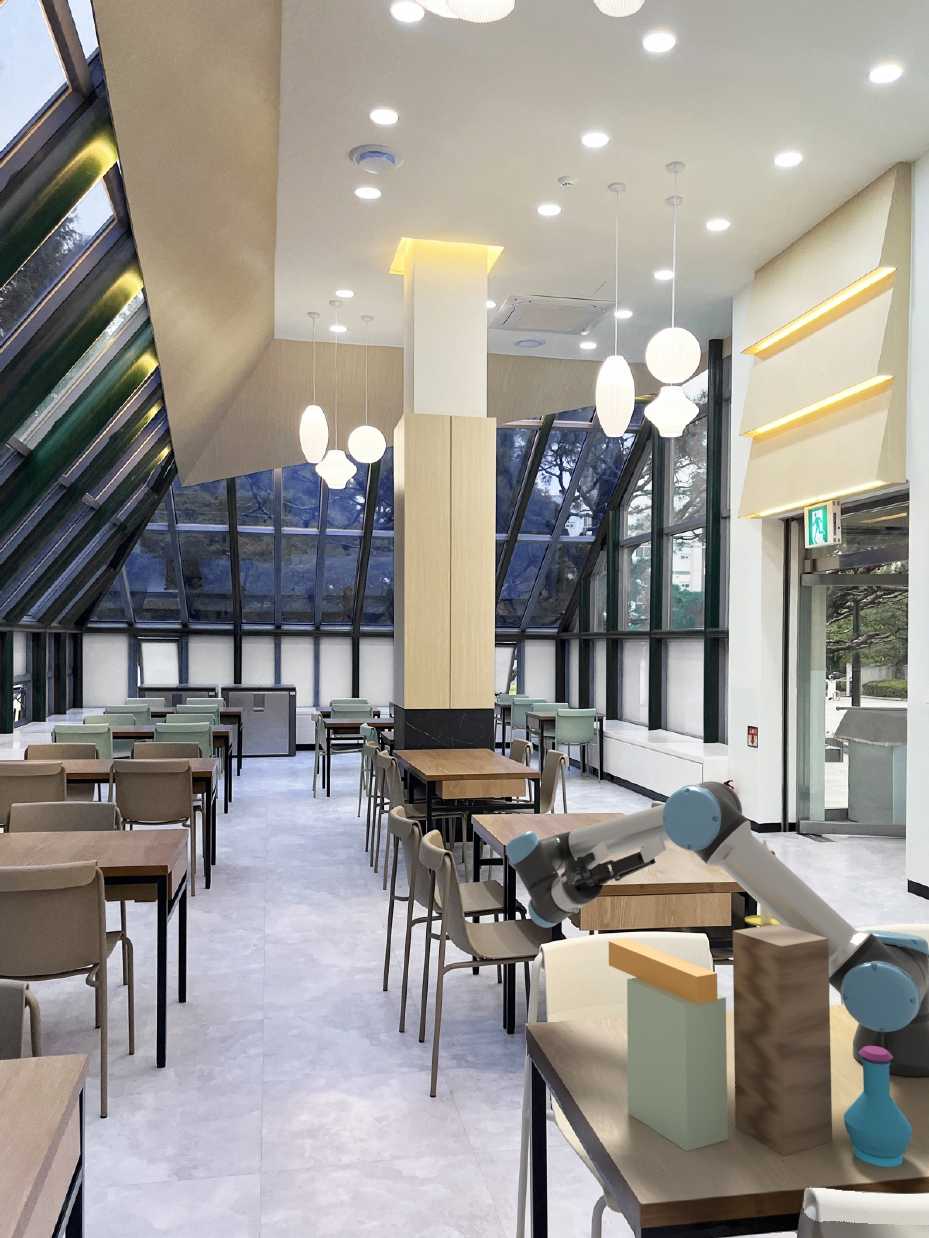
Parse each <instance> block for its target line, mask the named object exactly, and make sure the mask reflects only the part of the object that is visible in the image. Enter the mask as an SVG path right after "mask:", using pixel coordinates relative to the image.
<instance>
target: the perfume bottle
mask: <svg viewBox="0 0 929 1238" xmlns="http://www.w3.org/2000/svg"><path fill="white" fill-rule="evenodd" d="M859 1054H860V1055H861V1056H862V1061H863V1064H862V1078H863V1079H862V1081H863V1083H862V1084H863V1091H862V1092H861V1093H860V1095H859V1096H858V1097H857V1099H856V1100H855V1101H854V1102H853V1103H852V1104H851V1105H850V1106H849V1108H848V1109H847V1110H846V1111H845V1112H844V1115H843V1121H844V1126H845V1130H846V1132H847V1134H848V1136H849V1141H850V1143H851V1145H853V1153H854V1155H855V1156H856V1157H857V1158H858V1159H859V1160H860V1161H863V1162H865V1163H868V1164H870V1163H872V1164H871V1165H873V1164H874V1165H873V1166H878V1167H882V1166H883V1167H884V1168H892V1167H893V1168H894V1167H898V1166H900V1165H902V1164H903V1161H904V1157H903V1155H905V1153H907V1147H908V1145H909V1144H910V1142H911V1139H912V1138H911V1137H912V1133H913V1132H912V1131H913V1127H912V1125H911V1123H910V1122H909V1120H908V1119H907V1117H906V1116H905V1115H904V1113H903V1112H902V1111H901V1109H900V1108H899V1107H898V1105H897V1103H896V1102H895V1101H894V1099H893V1098H892V1096H891V1092H890V1073H889V1065H890V1060H891V1059H892V1058H893V1056H892V1055H891V1054H890V1053H889V1052H888V1051H887V1050H886V1049H884V1048H881V1047H877V1046H865V1047H863V1048H862V1049H861V1050H860V1051H859ZM901 1163H902V1164H901Z"/></svg>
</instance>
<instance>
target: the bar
mask: <svg viewBox="0 0 929 1238" xmlns="http://www.w3.org/2000/svg"><path fill="white" fill-rule="evenodd" d="M609 966H610V967H611V968H613V969H617V970H619V971H621V972H623V973H625V974H627V975H630V976H632V977H634V978H639V979H641V980H644V981H646V982H648V983H650V984H653V985H655V986H657V987H660V988H662V989H664V990H666V991H669V992H671V993H673V994H675V995H678V996H680V997H682V998H685V999H687V1000H689V1001H691V1002H694V1003H696V1004H700V1003H705V1002H710V1001H716V1000H717V994H718V973H717V972H715V971H713V970H710V969H708V968H705V967H702V966H700V965H697V964H695V963H692V962H689V961H687V960H685V959H684V960H683V959H682V958H679V957H677V956H674V955H670V954H668V953H666V952H663V951H660V950H658V949H656V948H653V947H651V946H648V945H645V944H643V943H640V942H637V941H635V940H632V939H630V938H623V939H621V938H620V939H615V940H609V941H608V967H609Z"/></svg>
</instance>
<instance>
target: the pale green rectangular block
mask: <svg viewBox="0 0 929 1238" xmlns="http://www.w3.org/2000/svg"><path fill="white" fill-rule="evenodd" d="M626 984H627V985H626V986H627V987H626V991H627V994H626V995H627V996H626V997H627V1005H626V1006H627V1007H626V1009H627V1013H626V1014H627V1021H626V1022H627V1030H626V1031H627V1114H629V1115H630V1116H631V1117H633V1118H635V1119H637V1120H638V1121H639V1122H641V1123H643V1124H644V1125H646V1126H648V1127H649V1128H650V1129H652V1130H653V1131H655V1133H656V1132H657V1133H658V1134H660V1135H661V1136H663V1137H664V1138H666V1139H668V1140H669V1141H671V1142H672V1143H674V1144H675V1145H677V1146H678V1147H680V1148H681V1149H683V1150H684V1151H686V1152H689V1151H692V1150H693V1151H694V1150H697V1149H700V1148H703V1147H706V1146H707V1147H708V1146H711V1145H713V1144H716V1143H717V1144H718V1143H720V1142H723V1141H728V1137H729V1135H728V1133H729V1132H728V1078H727V1077H728V1071H727V1070H728V1068H727V1065H728V1062H727V1059H728V1058H727V1053H728V1051H727V997H726V996H723V995H721V994H719V993H717V1000H716V1001H710V1002H705V1003H700V1004H696V1003H694V1002H691V1001H689V1000H687V999H685V998H682V997H680V996H678V995H675V994H673V993H671V992H669V991H666V990H664V989H662V988H660V987H657V986H655V985H653V984H650V983H648V982H646V981H644V980H641V979H639V978H637V977H634V978H633V977H632V978H627V982H626Z"/></svg>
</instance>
